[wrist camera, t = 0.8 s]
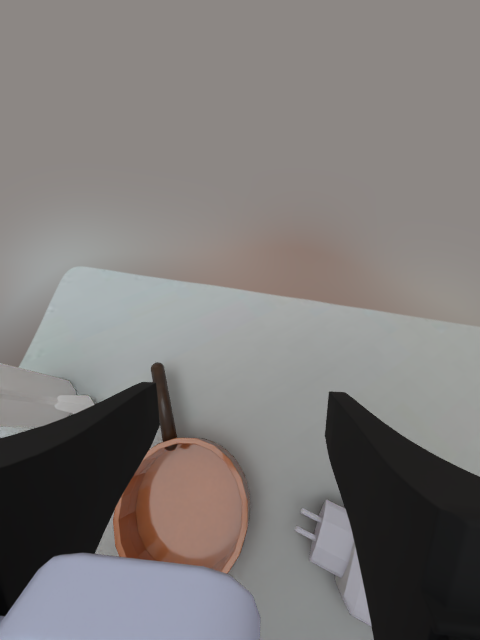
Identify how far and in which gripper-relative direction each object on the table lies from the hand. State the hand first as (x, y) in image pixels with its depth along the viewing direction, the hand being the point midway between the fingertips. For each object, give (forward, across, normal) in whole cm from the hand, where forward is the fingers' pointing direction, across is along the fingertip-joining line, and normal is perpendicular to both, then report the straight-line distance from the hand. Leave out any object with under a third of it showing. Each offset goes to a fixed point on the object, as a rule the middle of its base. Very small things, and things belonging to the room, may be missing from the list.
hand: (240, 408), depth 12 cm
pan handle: (+19, +11, +13) cm, 26 cm away
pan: (+15, +7, +22) cm, 28 cm away
